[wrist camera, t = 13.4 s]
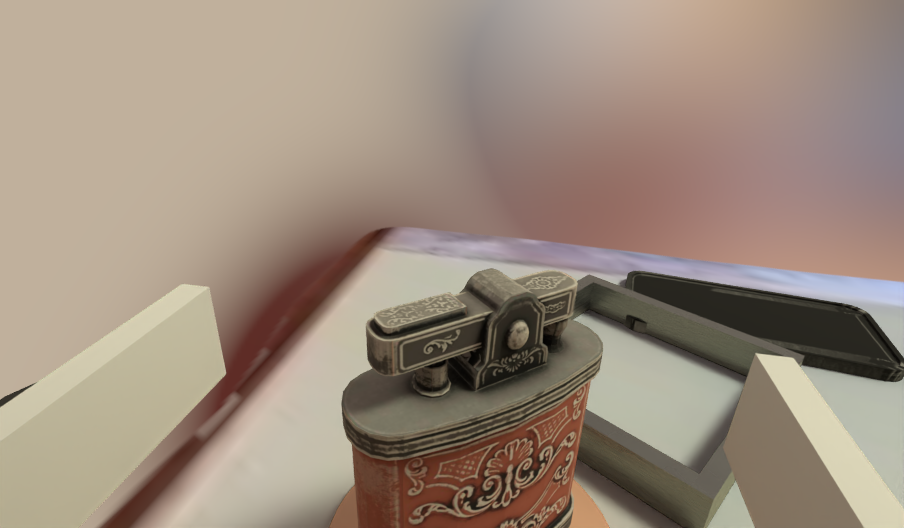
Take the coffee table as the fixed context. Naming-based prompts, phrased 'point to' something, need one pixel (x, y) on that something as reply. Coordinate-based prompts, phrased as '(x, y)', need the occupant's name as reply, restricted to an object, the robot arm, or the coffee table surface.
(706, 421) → the coffee table surface
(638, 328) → the phone
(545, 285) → the lighter
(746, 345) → the holder frame
